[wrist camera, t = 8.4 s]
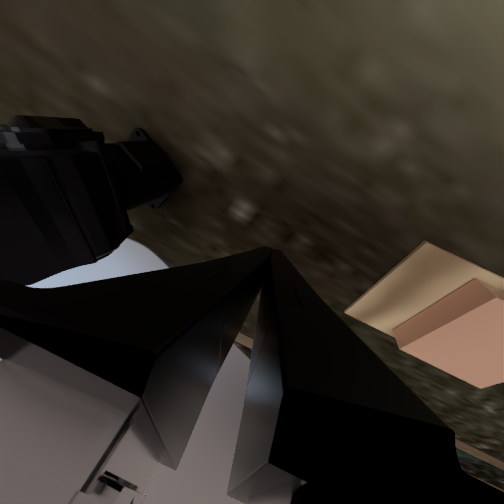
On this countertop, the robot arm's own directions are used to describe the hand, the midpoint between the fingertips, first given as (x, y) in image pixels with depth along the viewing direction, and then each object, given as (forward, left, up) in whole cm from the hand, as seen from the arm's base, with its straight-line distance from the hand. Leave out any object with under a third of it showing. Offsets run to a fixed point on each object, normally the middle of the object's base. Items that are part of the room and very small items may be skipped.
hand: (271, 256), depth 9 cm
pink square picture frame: (+5, -19, -10) cm, 22 cm away
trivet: (+7, -21, -12) cm, 25 cm away
